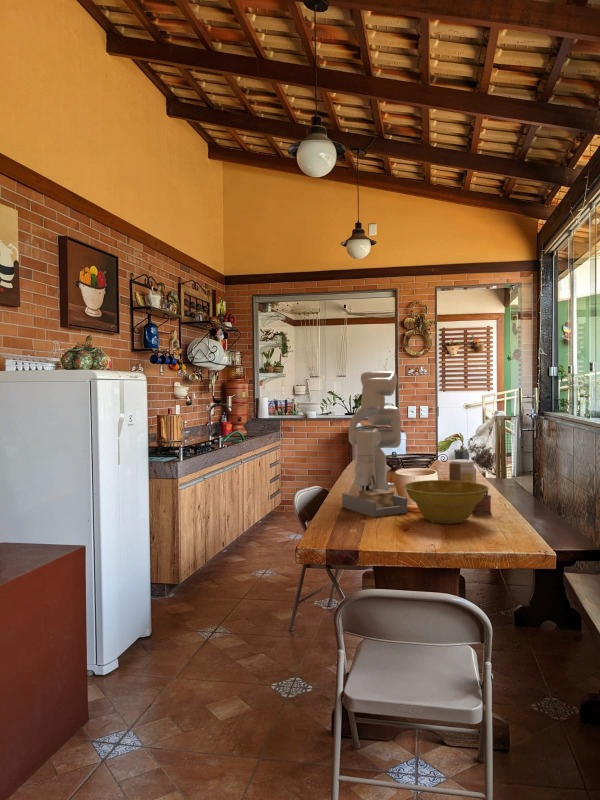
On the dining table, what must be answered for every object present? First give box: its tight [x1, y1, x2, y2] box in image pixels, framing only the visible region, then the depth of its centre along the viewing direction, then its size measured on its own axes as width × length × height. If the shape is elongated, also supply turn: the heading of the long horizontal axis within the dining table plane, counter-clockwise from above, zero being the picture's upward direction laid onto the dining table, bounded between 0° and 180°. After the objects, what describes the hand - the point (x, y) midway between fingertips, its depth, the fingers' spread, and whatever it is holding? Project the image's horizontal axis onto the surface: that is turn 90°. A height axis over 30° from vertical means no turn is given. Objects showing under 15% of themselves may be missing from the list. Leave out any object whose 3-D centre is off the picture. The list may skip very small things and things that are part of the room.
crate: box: [358, 489, 395, 509], centre depth 240 cm, size 11×9×6 cm
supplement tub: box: [450, 458, 477, 483], centre depth 270 cm, size 12×12×17 cm
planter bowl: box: [403, 479, 489, 525], centre depth 222 cm, size 32×32×13 cm
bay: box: [341, 492, 408, 518], centre depth 242 cm, size 17×23×6 cm
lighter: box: [471, 489, 492, 515], centre depth 233 cm, size 8×3×10 cm, turn 65°
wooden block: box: [448, 462, 461, 481], centre depth 252 cm, size 9×4×18 cm, turn 70°
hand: (365, 501), depth 247 cm, fingers closed
